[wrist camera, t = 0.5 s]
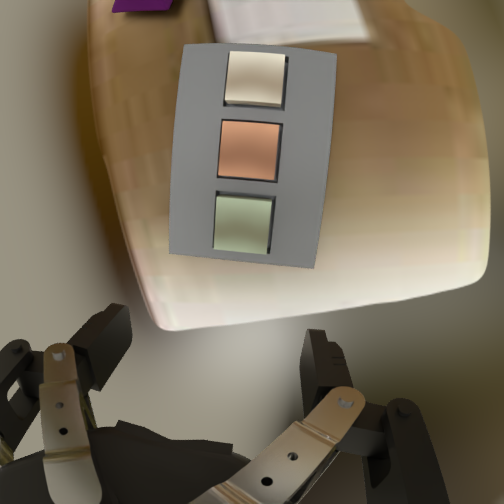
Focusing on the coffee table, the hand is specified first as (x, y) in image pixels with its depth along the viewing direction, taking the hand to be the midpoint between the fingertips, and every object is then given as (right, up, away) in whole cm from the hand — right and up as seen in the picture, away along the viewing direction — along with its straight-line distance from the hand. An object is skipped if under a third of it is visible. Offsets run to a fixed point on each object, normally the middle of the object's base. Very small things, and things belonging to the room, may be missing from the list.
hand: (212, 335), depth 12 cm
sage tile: (+1, +7, +17) cm, 18 cm away
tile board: (+2, +14, +17) cm, 22 cm away
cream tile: (+2, +20, +12) cm, 23 cm away
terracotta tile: (+1, +13, +14) cm, 20 cm away
